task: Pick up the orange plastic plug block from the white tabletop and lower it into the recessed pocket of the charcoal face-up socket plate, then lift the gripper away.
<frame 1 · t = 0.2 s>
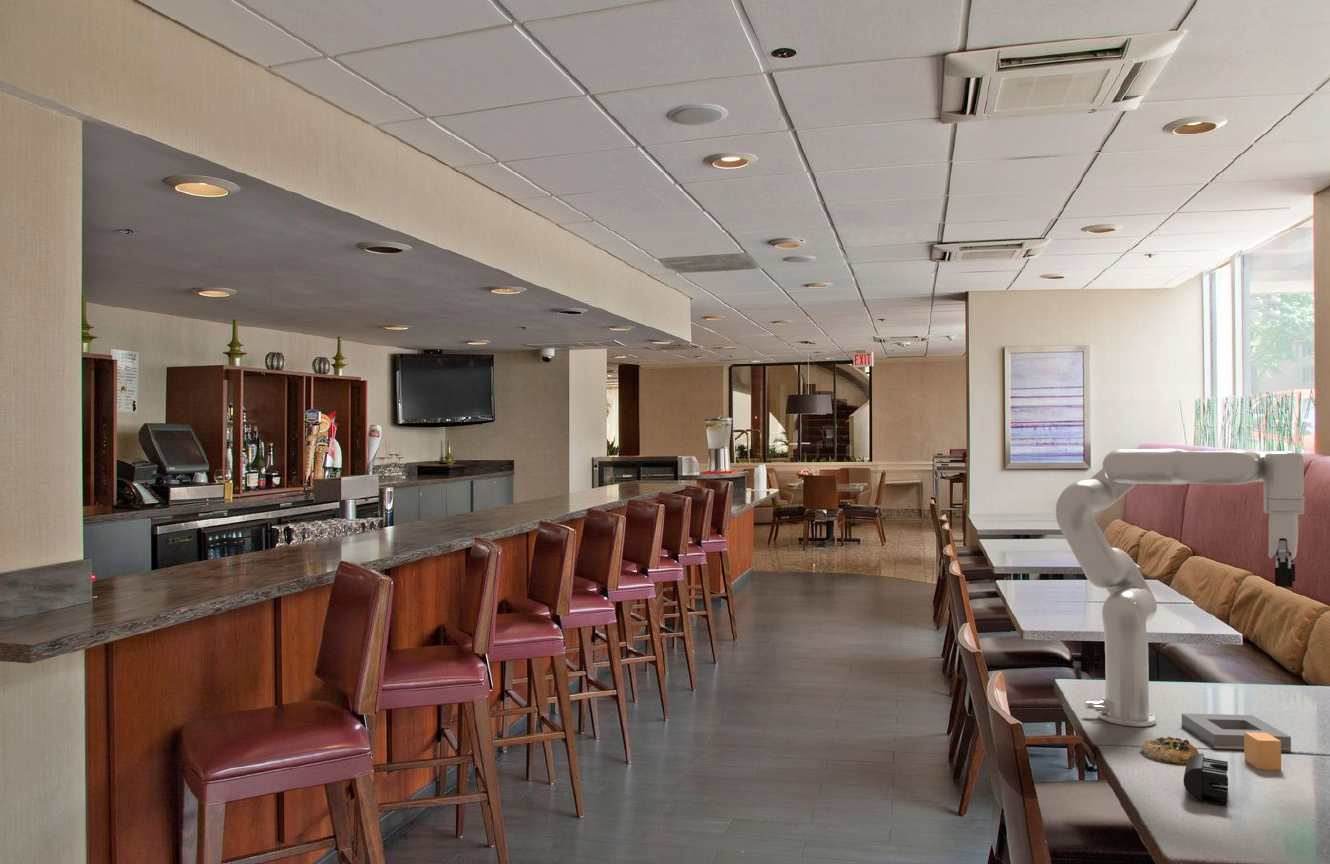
hand: (1285, 583, 204), 37 cm above the table, tool pointing down, fingers open, 9 cm apart
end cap: (1206, 797, 177), on the table
socket plate: (1234, 737, 212), on the table
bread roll: (1170, 758, 199), on the table
plug: (1262, 765, 194), on the table
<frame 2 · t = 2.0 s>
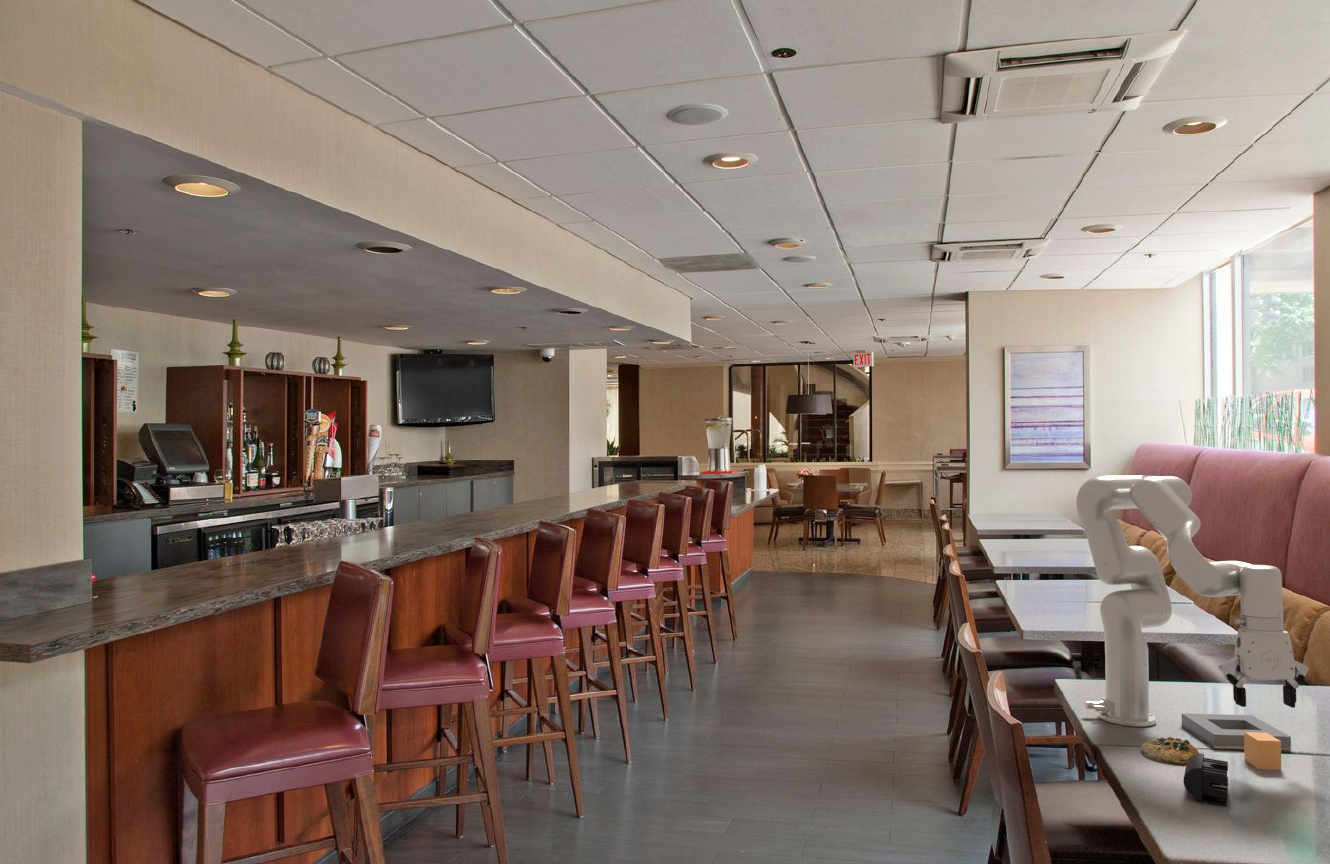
hand: (1264, 705, 194), 13 cm above the table, tool pointing down, fingers open, 9 cm apart
nothing on the table moved.
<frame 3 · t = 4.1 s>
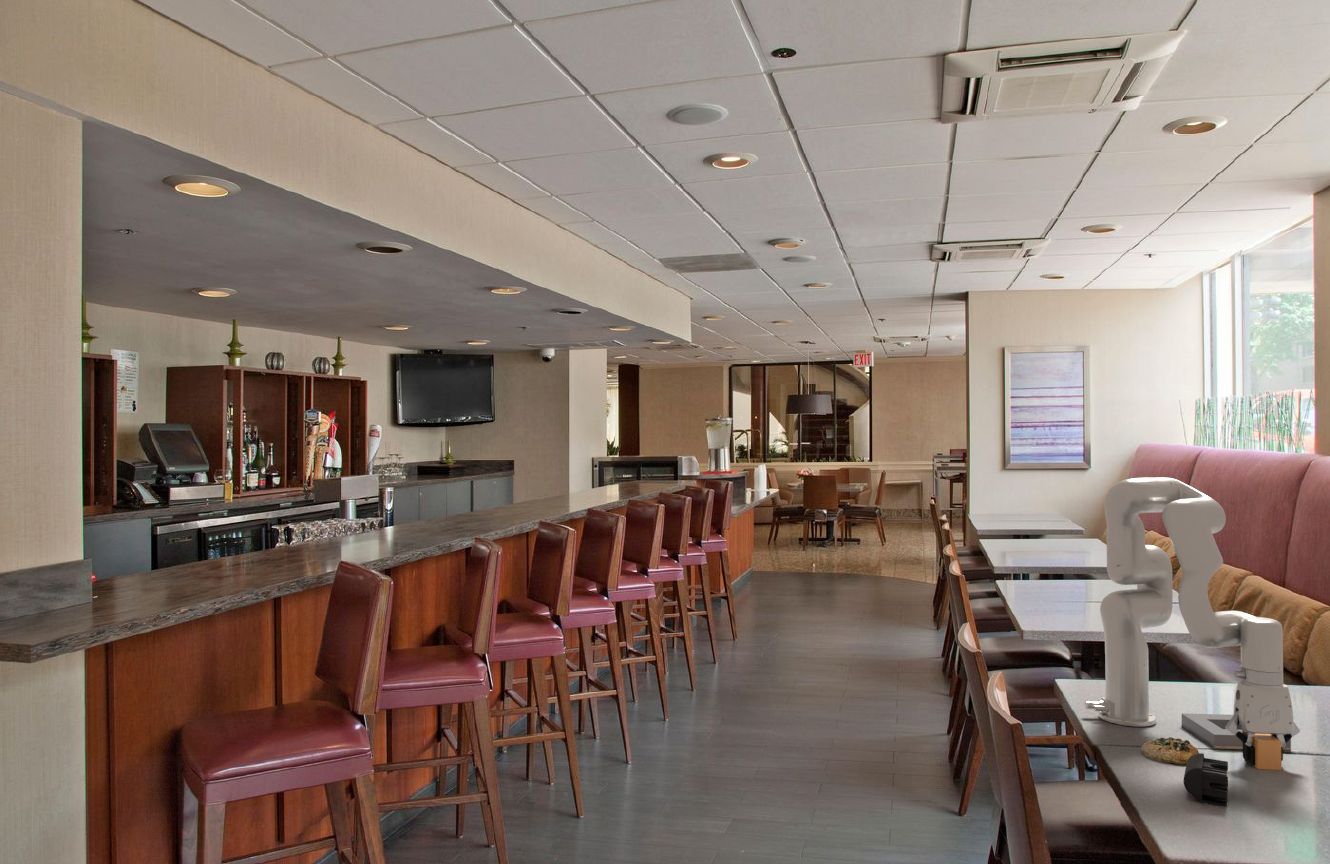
hand: (1262, 762, 194), 0 cm above the table, tool pointing down, fingers closed on plug, 4 cm apart
plug: (1262, 764, 194), on the table, touching gripper
everything else where it was.
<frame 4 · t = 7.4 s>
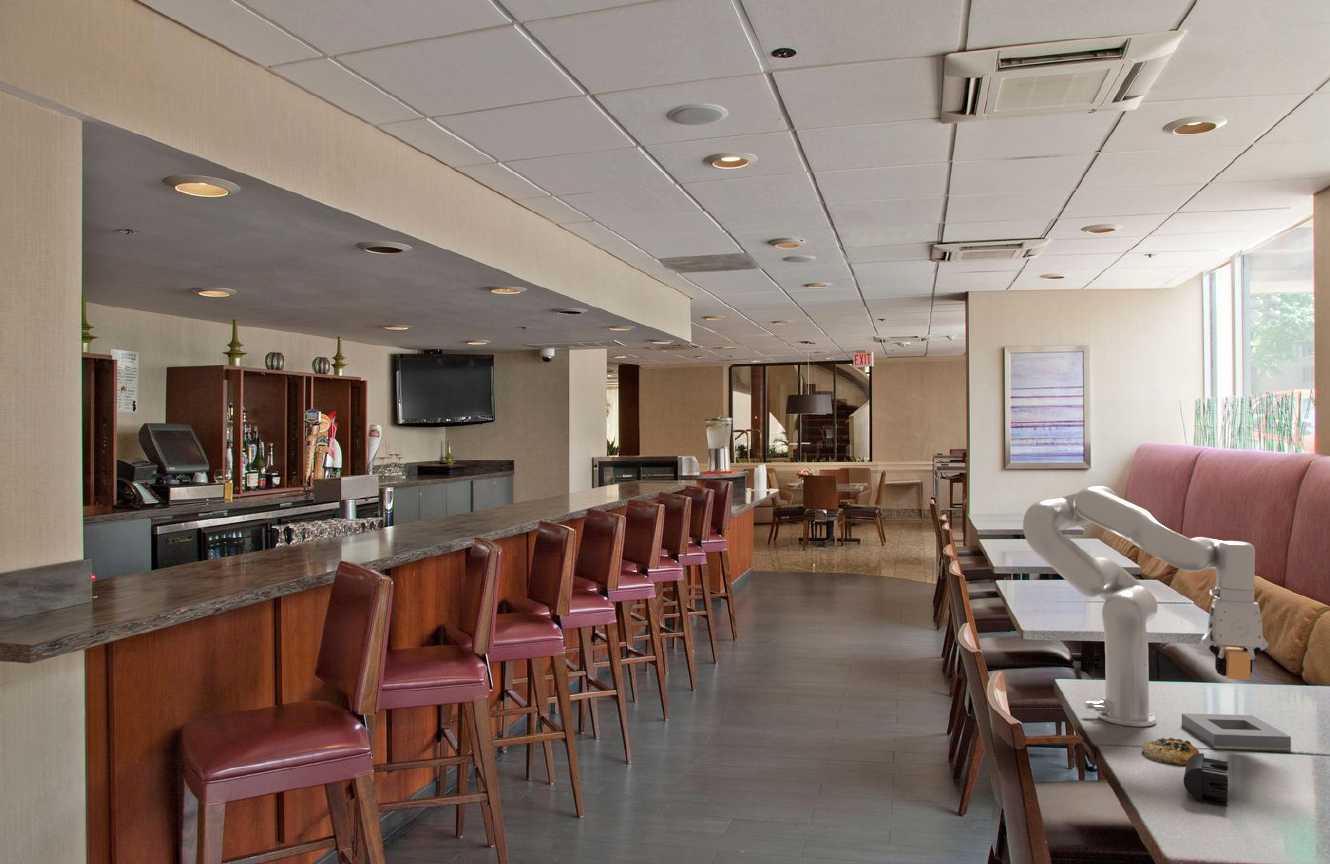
hand: (1233, 674, 210), 15 cm above the table, tool pointing down, fingers closed on plug, 4 cm apart
plug: (1233, 676, 210), point 15 cm above the table, touching gripper
everything else where it was.
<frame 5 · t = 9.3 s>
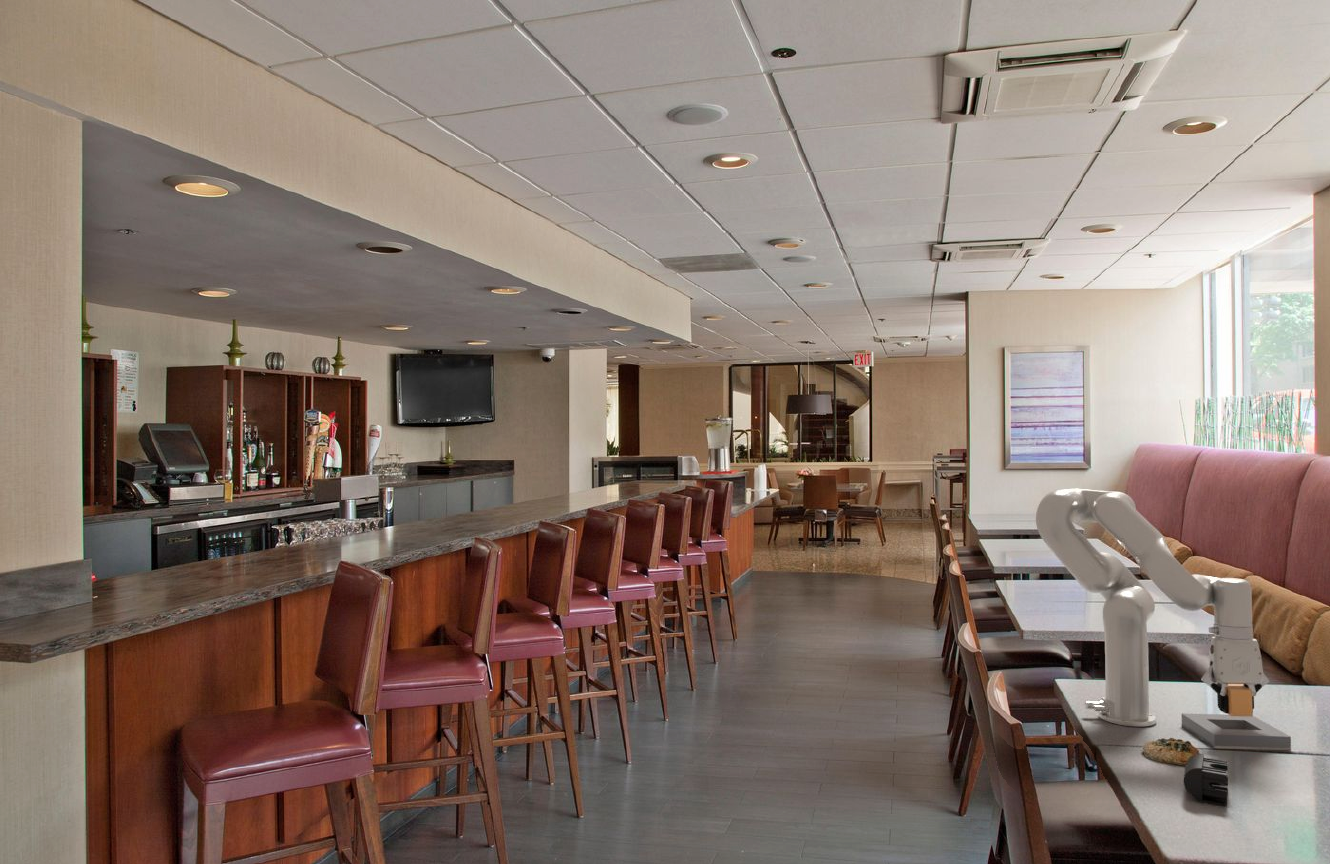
hand: (1235, 711, 211), 6 cm above the table, tool pointing down, fingers closed on plug, 4 cm apart
plug: (1236, 713, 211), point 6 cm above the table, touching gripper
everything else where it was.
when the fingers open (3 cm above the table, at t = 10.7 s): plug drops 2 cm, resting on socket plate.
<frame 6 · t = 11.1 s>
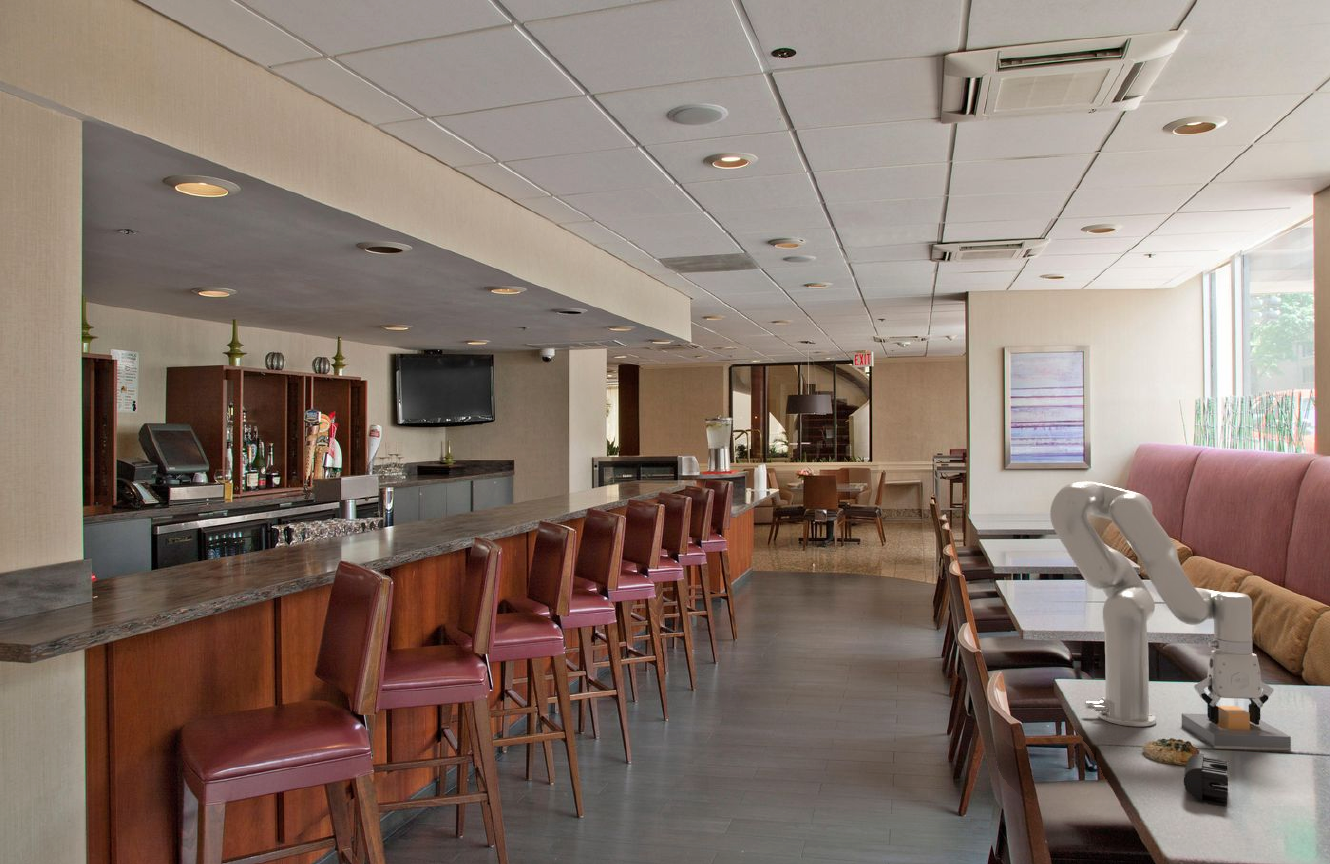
hand: (1233, 722, 212), 4 cm above the table, tool pointing down, fingers open, 8 cm apart
plug: (1233, 735, 212), resting on socket plate
everything else where it was.
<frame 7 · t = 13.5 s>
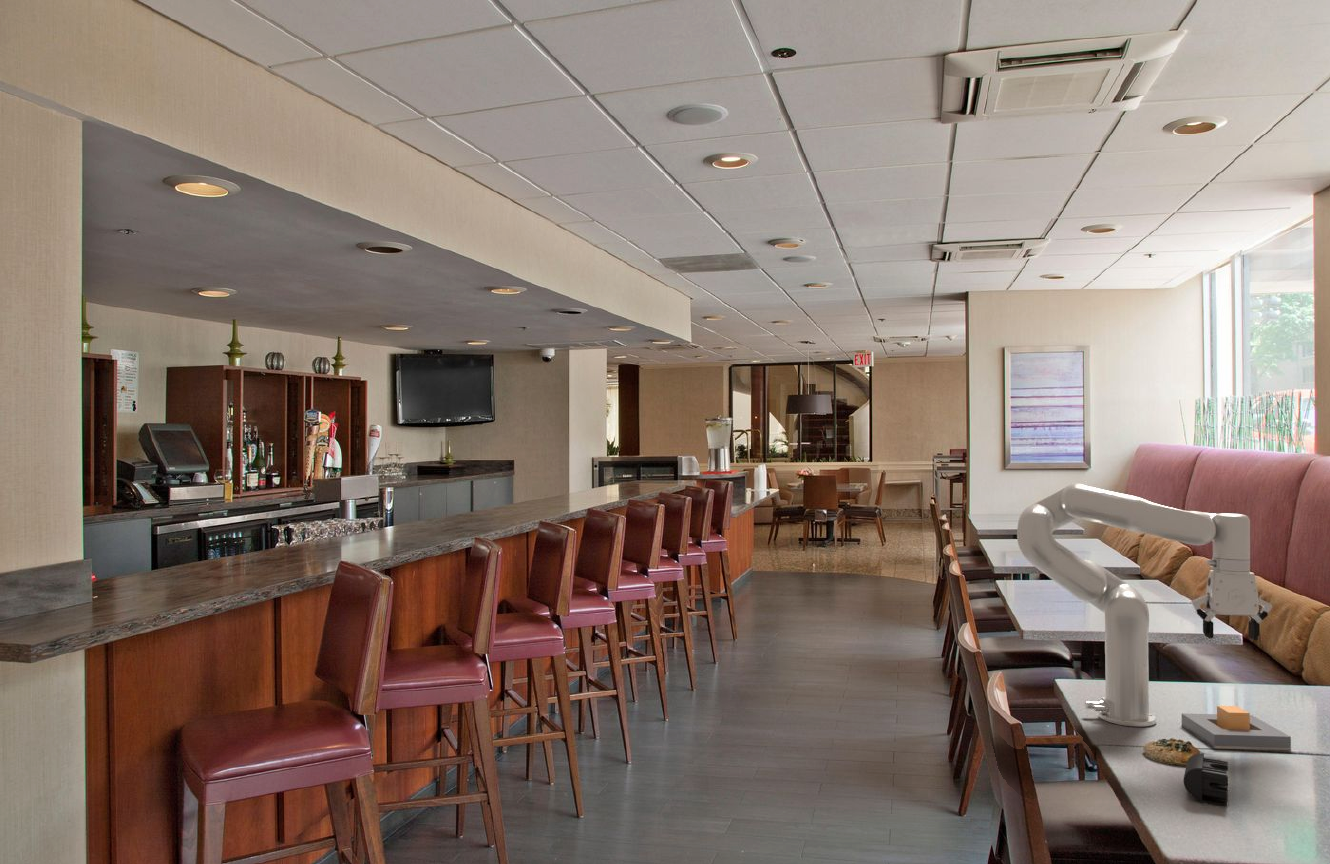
hand: (1230, 638, 217), 22 cm above the table, tool pointing down, fingers open, 9 cm apart
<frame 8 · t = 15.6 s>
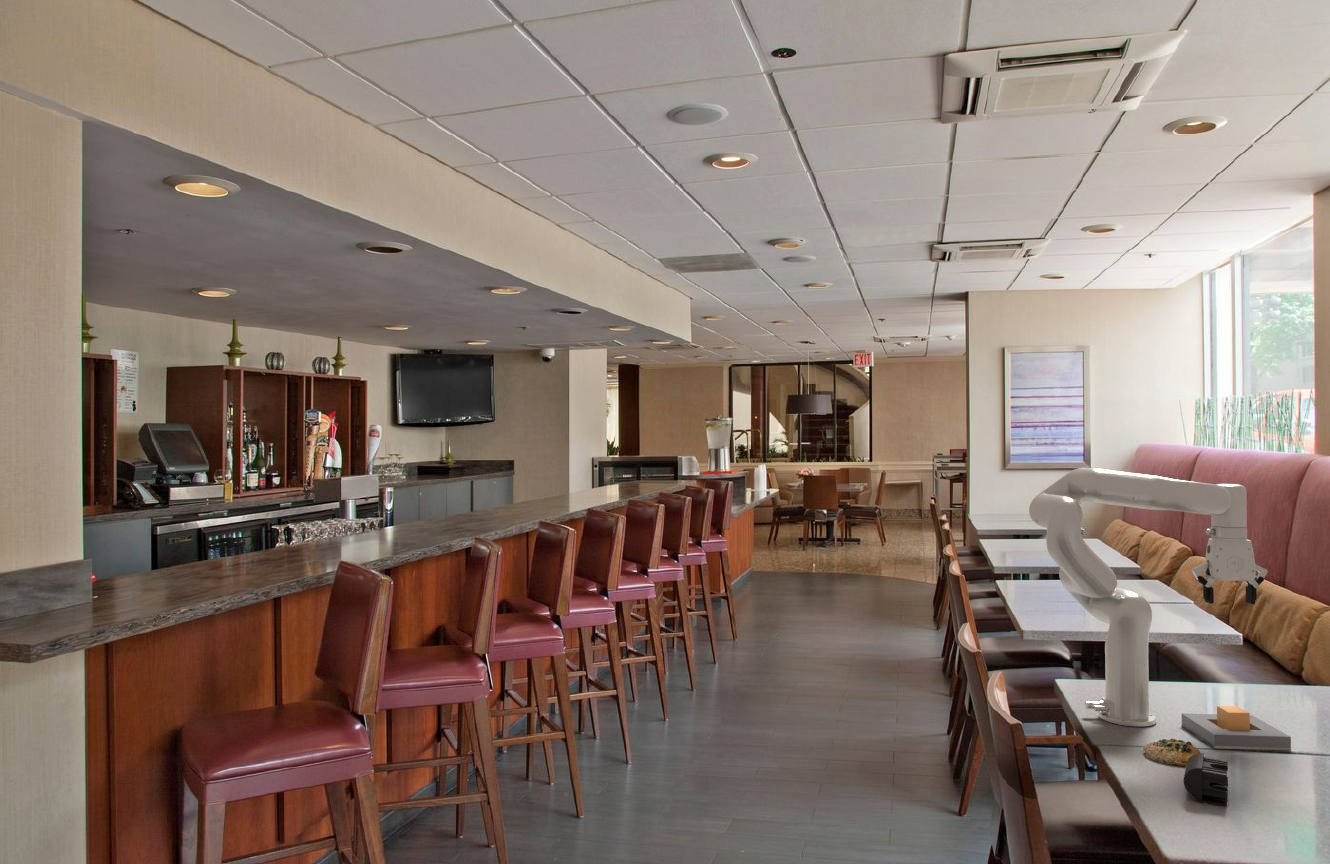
hand: (1229, 603, 227), 28 cm above the table, tool pointing down, fingers open, 9 cm apart
at the end: plug 0.1 cm off-centre on the socket plate, point 0.5 cm above the socket plate's base; plug tilted 0°; the gripper is holding nothing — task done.
